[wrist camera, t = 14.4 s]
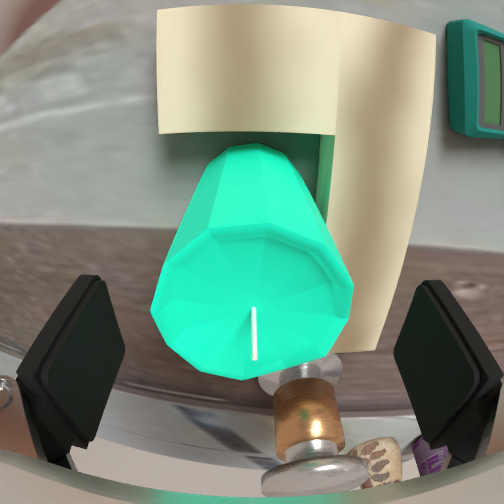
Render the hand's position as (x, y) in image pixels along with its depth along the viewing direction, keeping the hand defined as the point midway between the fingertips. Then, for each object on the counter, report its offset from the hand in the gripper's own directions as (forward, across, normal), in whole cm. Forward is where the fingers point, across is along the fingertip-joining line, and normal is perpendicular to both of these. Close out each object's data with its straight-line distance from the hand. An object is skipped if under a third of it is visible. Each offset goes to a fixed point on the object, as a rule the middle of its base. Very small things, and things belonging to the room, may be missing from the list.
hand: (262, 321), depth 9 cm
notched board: (+11, -2, 0) cm, 11 cm away
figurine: (+11, -17, +35) cm, 40 cm away
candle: (+11, 0, 0) cm, 11 cm away
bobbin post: (+11, -4, +15) cm, 19 cm away
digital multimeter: (+12, -18, -9) cm, 24 cm away
